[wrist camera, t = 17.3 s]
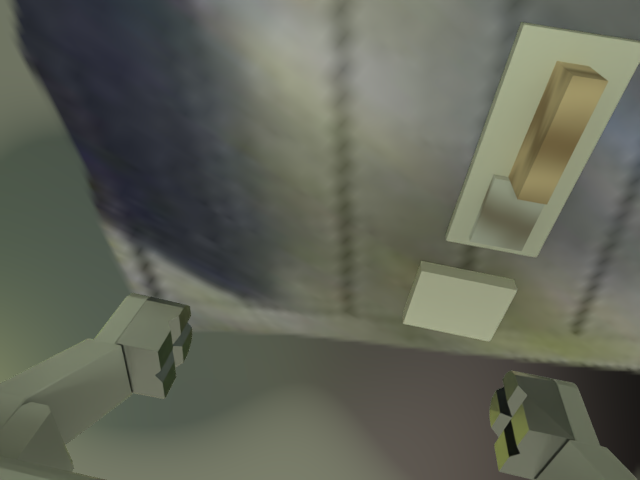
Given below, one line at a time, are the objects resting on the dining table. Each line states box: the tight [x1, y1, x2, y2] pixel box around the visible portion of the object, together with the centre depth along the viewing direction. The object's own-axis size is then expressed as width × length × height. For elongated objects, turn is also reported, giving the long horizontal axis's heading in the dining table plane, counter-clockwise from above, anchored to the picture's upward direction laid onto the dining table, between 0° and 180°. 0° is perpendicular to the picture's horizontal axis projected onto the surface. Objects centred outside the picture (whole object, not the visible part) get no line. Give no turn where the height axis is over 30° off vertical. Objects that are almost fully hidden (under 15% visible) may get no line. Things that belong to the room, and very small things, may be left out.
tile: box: [403, 261, 517, 342], centre depth 49 cm, size 2×10×8 cm
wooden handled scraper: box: [469, 61, 608, 251], centre depth 37 cm, size 17×5×4 cm, turn 173°
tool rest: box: [445, 22, 640, 257], centre depth 39 cm, size 20×9×1 cm, turn 173°
